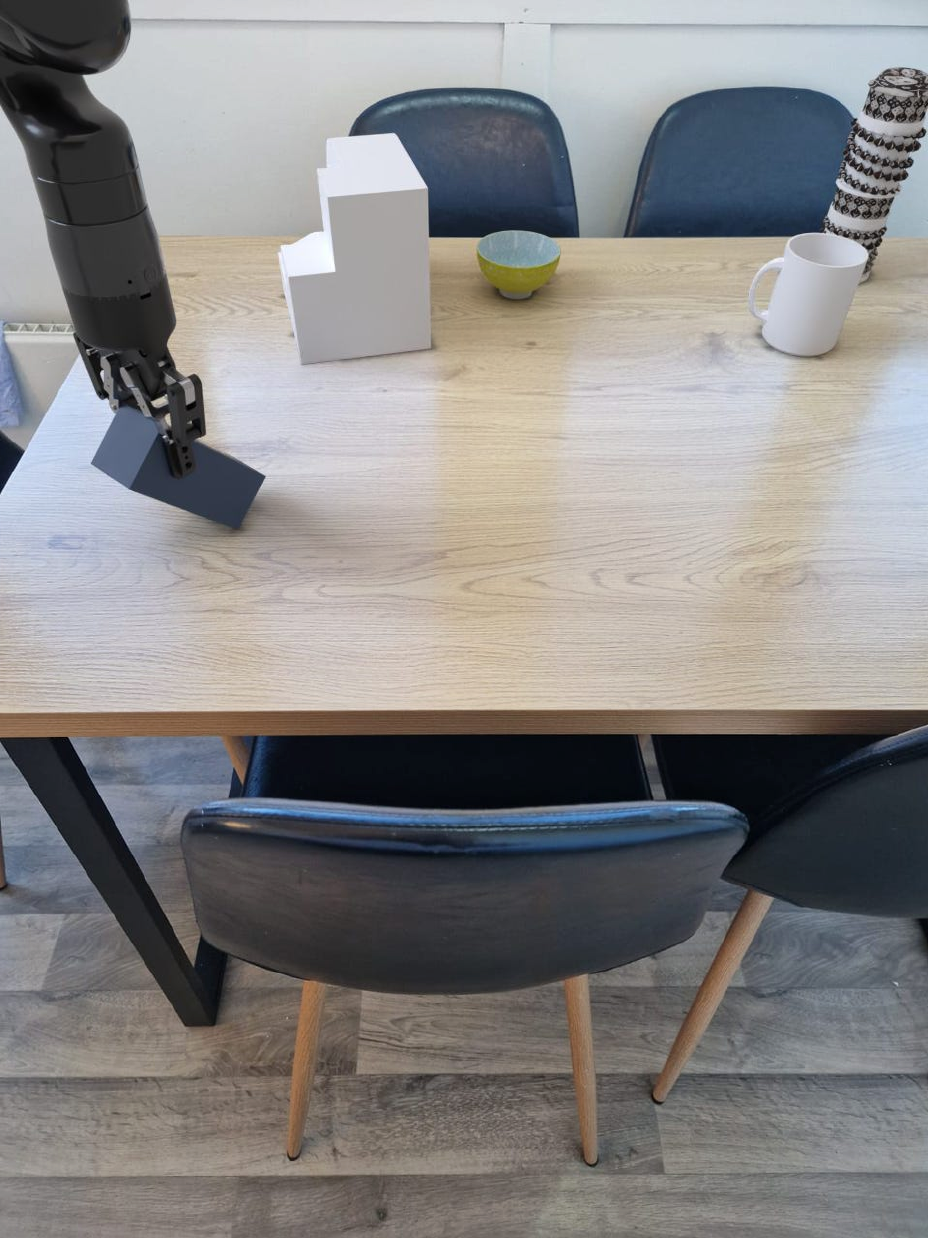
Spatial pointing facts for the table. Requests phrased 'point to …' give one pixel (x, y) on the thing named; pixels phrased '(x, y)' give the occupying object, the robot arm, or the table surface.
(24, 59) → the robot arm
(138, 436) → the rectangular box
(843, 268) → the mug
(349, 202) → the block
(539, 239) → the bowl
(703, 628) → the table surface
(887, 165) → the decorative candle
